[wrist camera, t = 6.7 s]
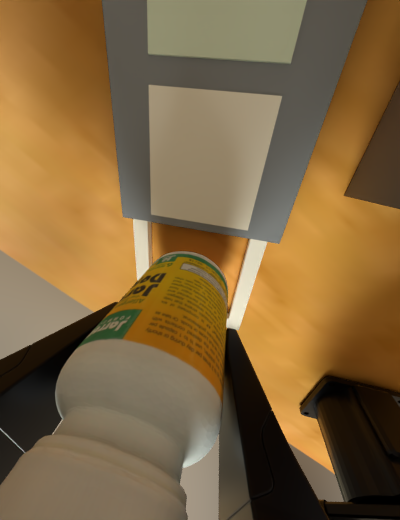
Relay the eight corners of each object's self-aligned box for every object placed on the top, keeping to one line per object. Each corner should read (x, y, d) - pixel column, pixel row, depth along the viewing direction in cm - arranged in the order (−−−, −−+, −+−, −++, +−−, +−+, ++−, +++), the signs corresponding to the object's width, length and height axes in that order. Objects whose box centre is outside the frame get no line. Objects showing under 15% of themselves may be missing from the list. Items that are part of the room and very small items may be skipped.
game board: (246, 326, 15) (247, 333, 14) (135, 301, 16) (130, 306, 15) (482, -345, 4) (528, -440, 3) (86, -285, 5) (65, -349, 4)
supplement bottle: (195, 326, 13) (123, 597, 5) (136, 284, 12) (-74, 525, 4) (247, 285, 11) (289, 695, 2) (179, 229, 10) (-140, 562, 1)
